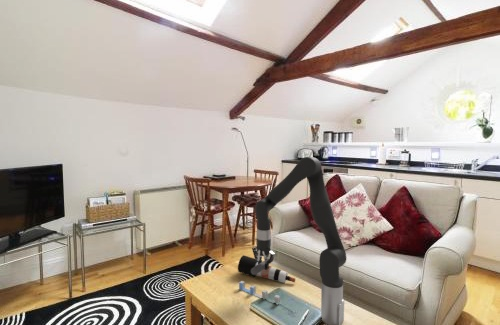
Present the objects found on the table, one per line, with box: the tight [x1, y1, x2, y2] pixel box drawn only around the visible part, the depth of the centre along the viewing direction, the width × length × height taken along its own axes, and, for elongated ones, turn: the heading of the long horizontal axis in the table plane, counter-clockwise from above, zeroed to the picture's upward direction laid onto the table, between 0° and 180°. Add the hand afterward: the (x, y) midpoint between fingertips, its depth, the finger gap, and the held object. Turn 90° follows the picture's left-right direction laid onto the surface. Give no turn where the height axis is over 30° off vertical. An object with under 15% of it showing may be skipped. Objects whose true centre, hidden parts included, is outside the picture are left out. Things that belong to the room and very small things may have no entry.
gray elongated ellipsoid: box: [251, 260, 265, 276], centre depth 140 cm, size 14×4×4 cm, turn 142°
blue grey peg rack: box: [238, 280, 281, 303], centre depth 141 cm, size 24×2×4 cm, turn 52°
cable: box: [237, 255, 296, 284], centre depth 159 cm, size 10×34×10 cm
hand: (263, 268), depth 142 cm, fingers closed on gray elongated ellipsoid, 3 cm apart
